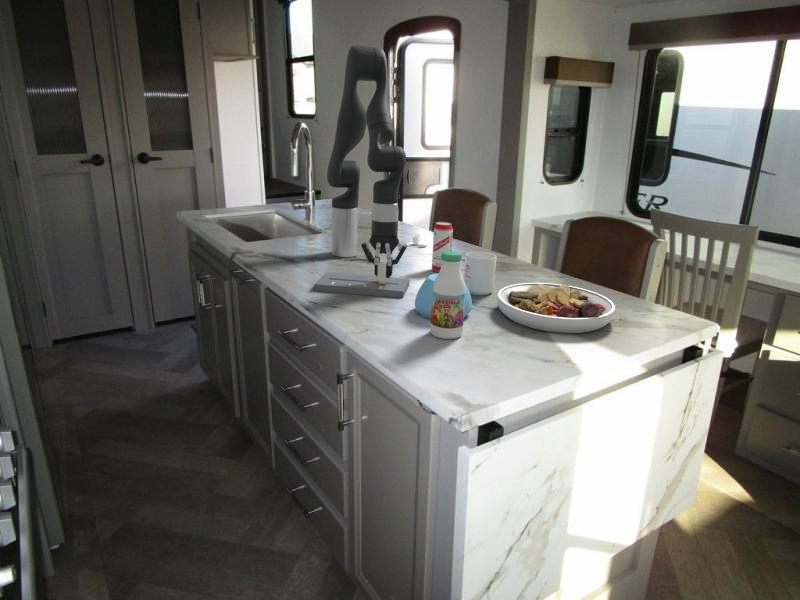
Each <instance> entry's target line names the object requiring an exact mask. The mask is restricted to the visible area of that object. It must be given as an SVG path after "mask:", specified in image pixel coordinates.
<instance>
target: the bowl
mask: <svg viewBox="0 0 800 600" xmlns="http://www.w3.org/2000/svg"><path fill="white" fill-rule="evenodd" d="M497 306H498V308H499V309H500V311H501V312H502V313H503V315H505V316H506V317H507V318H508V319H510V320H511V321H513V322H514V323H518V324H519V325H521V326H525V327H526V328H530V329H534V330H540V331H543V332H551V333H558V334H583V333H589V332H594V331H597V330H600V329H601V328H602V329H603V328H604V327H606V325H608V324H609V323H610V322H611V321H612V319H613V317H614V316H615V311H616V305H615V304H614V302H612V300H610V299H609V298H608V297H606V296H604V295H602V294H599V293H598V292H594V291H592V290H588V289H584V288H581V287H577V286H572V285H568V284H559V283H558V284H557V283H546V282H525V283H515V284H511V285H508V286H507V285H506V286H505V287H502V288H501V289H500V290H498V292H497Z"/></svg>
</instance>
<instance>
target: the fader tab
mask: <svg viewBox="0 0 800 600" xmlns="http://www.w3.org/2000/svg"><path fill="white" fill-rule="evenodd" d="M387 266H388V263H387V258H380V261H379V263H378V276H377V281H378V284H386V282H387V280H388V278H387Z"/></svg>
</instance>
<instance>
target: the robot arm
mask: <svg viewBox="0 0 800 600" xmlns="http://www.w3.org/2000/svg"><path fill="white" fill-rule="evenodd" d="M360 81H361V82H362V81H363V82H366V81H367V82H375V85H376V86H375V87H376V88H375V91H374V93H373V96H372V98H371V100H370V102H369V103H368V106H367V109H366V108H365V105H364V103H363V101H362V100H361V98H360V95H359V92H358V89H357V88H358V87H357V85H358V82H360ZM343 82H344V83H343V91H342V96H341V102H340V108H339V112H338V116H337V121H336V122H337V123H336V129H335V135H334V136H335V137H334V142H333V146H332V147H333V148H332V150H331V155H330V158H329V162H328V166H327V172H326V173H327V174H326V176H327V177H326V180H327V183H328V185H329V186H330V187H331V188H337V189H339V188H341V189H342V188H347V189H346V190H345V192H344V193H342V194H340V195H337V196H335V197H333V198H332V200H331V255H333V256H334V257H339V258H353V257H356V256H357V255H358V242H359V241H358V240H359V239H358V236H359V234H358V233H359V231H358V229H359V224H358V223H359V197H360V193H359V192H360V178H361V171H360V170H361V169H360V165H359V163H358V161H357V160H350V159H349V160H348V159H347V160H345V159H346V156H347V155H348V154H349V153H350V152H351V151H353V150H354V148H356V147H357V146H358V144H359V143H360V142H361V141H362V140H363V139H364V137H365V133H366V130H368V137H369V138H368V139H369V142H368V153H367V166H368V167H369V169H370V170H371V171H372V172H375V173H389V174H388V176H387V177H386V178H385V179H380V180H378V181H375V182H374V183H373V189H372V193H373V194H372V208H371V215H370V216H371V231H370V232H371V235H370V238H369V240H368V241H363V242H362V243H361V249H362V251H363V253H364V255H365V257H366V260H367V261H368V263H371V264H373V265H374V276H376V277H377V276H378V263H379V261H380V260H381V258H382V256H381V255H382V254H385V255H386V259H387V263H388V266H387V278H390V277H392V275H393V272H394V271H393V269H394V267H393V266H394V265H398V263H399V262H400V260H401V259H402V257H403V255H404V253H405V251H406V249H408V246H407V244H403V243H401V242H400V240H399V238H398V233H399V232H398V231H399V200H398V199H399V188H400V184H401V180H402V175H403V174H404V169H405V167H406V164H407V163H406V162H407V156H406V155H407V154H406V152H405V150H404V149H403V147H402V146H399V145H386V144H388V143H390V142H392V141H393V139H394V138H395V130H394V129H395V128H394V125H393V119H392V115H391V109H390V92H389V89H390V88H389V74H388V61H387V56H386V52H385V51H384V50H383V49H382V48H381V47H377V46H365V45H352V46H351V47H350V48H349V50H348V52H347V57H346V63H345V72H344V81H343ZM371 246H372V248H373V249H374V251H375V254H374V255H373V253H372V251H371ZM396 247H398V248H397V250H398V253H397V255H396V257H395V258H393V257H394V256H393V255H394V254H393V251H394V250H395V249H396Z"/></svg>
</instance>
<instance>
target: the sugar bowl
mask: <svg viewBox="0 0 800 600" xmlns="http://www.w3.org/2000/svg"><path fill="white" fill-rule="evenodd" d="M438 274H439V273H433V274H430V275H428V276H427V278H426V279H425V280H424V281H423V283H422V284H421V285H420V287H419V289H418V290H417V293H416V296H415V299H414V306H415V309H416V311H417V312H418V313H419V314H420V315H421V316H422V317H425V318H427V319H430V320H431V310H432V295H433V286H434V282H435V279H436V277H437V275H438ZM471 295H472V294H470V292H469V290H468V288H467V286H466V284H465V307H464V318H465V317H467V315H468V314H470V313H471V311H472V309H473V302H472V296H471Z"/></svg>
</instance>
